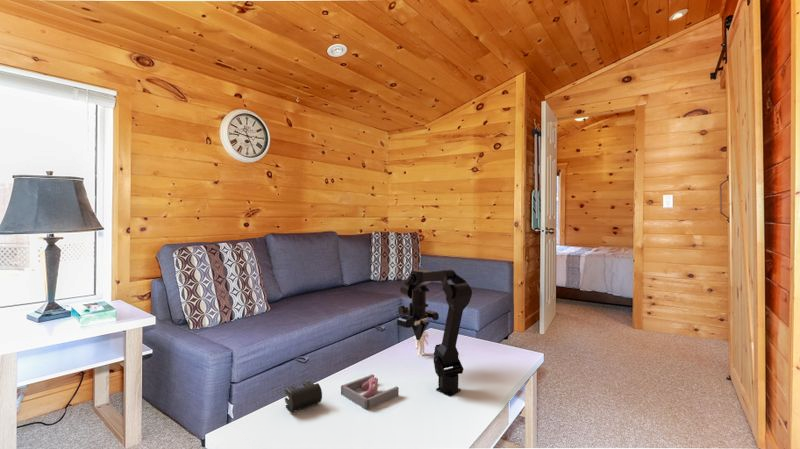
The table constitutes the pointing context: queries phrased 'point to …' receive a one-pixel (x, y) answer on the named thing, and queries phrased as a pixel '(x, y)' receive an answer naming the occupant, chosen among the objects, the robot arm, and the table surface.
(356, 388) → the sorting bay
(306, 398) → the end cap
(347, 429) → the table surface
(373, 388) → the pink curved piece
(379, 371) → the table surface
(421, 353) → the flower shoulder figurine
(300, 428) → the table surface
